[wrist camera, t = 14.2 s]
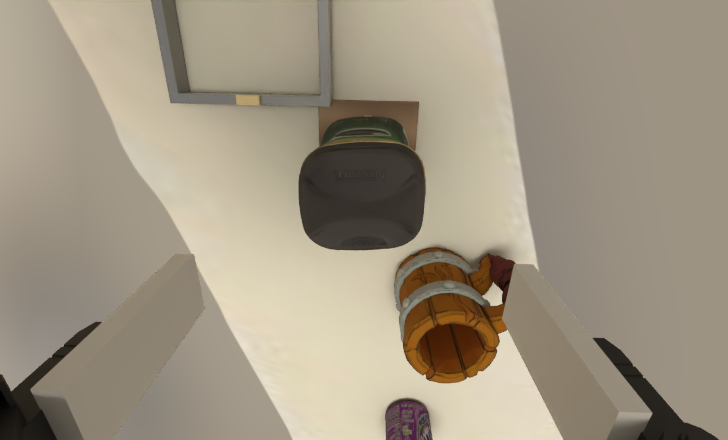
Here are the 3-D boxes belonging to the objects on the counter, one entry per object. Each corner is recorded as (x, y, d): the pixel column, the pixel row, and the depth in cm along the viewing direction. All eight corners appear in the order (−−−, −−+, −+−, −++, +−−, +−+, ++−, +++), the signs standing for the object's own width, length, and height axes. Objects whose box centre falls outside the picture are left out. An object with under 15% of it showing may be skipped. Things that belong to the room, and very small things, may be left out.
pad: (319, 99, 39) (318, 100, 38) (418, 101, 39) (419, 102, 38) (322, 193, 43) (321, 195, 42) (411, 195, 43) (411, 198, 42)
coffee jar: (327, 185, 42) (294, 264, 25) (321, 117, 39) (278, 153, 22) (408, 182, 41) (431, 261, 24) (408, 113, 38) (435, 147, 21)
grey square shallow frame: (148, -90, 33) (127, -106, 30) (329, -88, 32) (325, -104, 29) (182, 101, 39) (167, 103, 37) (332, 104, 39) (329, 107, 36)
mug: (377, 268, 47) (378, 349, 33) (492, 214, 44) (546, 280, 30) (412, 324, 51) (426, 419, 37) (521, 279, 47) (582, 364, 33)
